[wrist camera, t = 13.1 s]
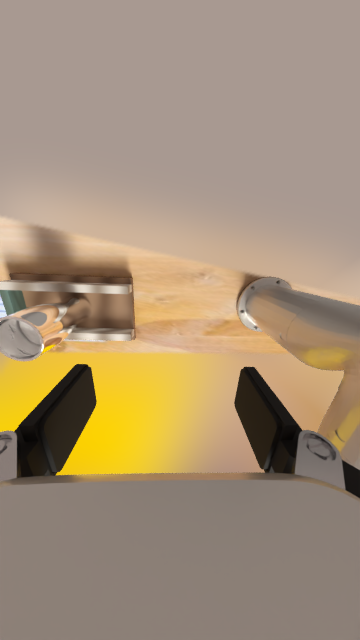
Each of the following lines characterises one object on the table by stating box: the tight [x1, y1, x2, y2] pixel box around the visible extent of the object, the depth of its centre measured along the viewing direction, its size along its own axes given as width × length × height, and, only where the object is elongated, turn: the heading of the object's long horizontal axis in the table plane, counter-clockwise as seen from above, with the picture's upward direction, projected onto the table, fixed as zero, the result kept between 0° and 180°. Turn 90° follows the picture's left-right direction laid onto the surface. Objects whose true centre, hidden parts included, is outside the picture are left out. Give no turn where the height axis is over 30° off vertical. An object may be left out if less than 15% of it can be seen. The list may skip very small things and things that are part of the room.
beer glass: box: [0, 295, 92, 361], centre depth 29 cm, size 7×7×15 cm
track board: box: [0, 273, 136, 341], centre depth 35 cm, size 24×14×4 cm, turn 88°
